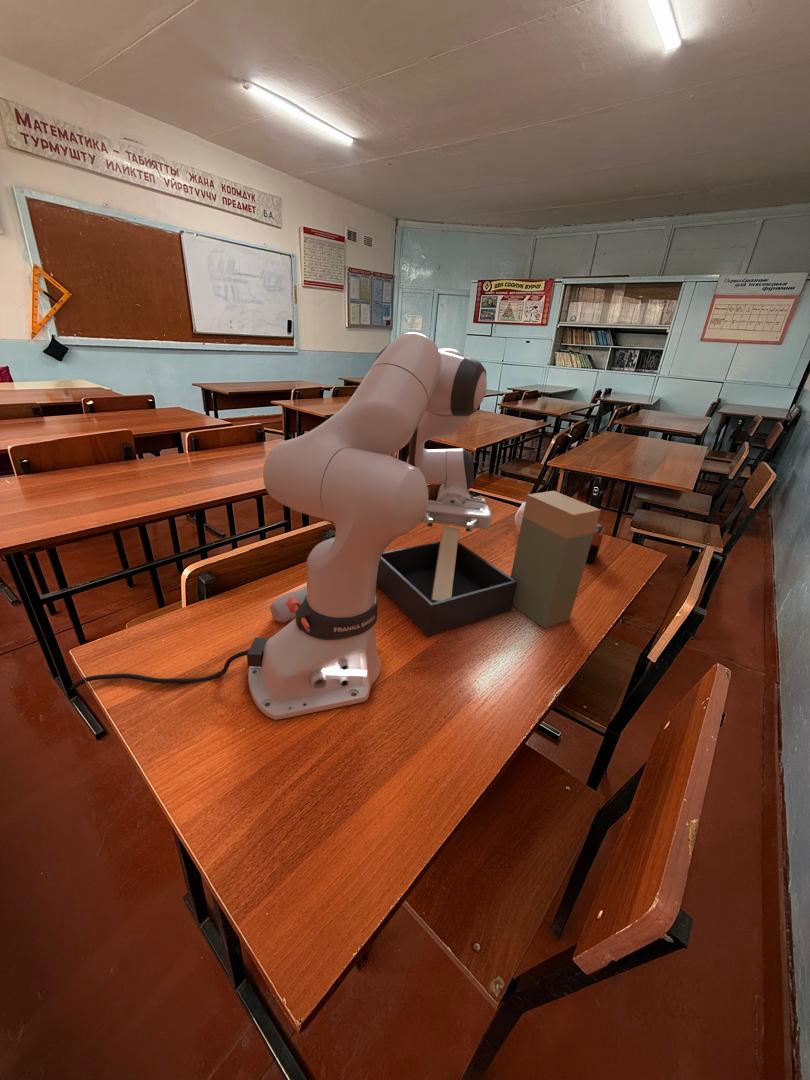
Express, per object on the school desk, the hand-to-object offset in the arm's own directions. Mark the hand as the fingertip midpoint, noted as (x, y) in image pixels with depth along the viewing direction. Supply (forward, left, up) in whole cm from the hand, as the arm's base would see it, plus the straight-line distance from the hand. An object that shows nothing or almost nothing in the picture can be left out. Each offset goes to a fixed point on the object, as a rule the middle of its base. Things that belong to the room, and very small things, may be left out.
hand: (449, 526), depth 103 cm
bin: (-6, -7, -14) cm, 17 cm away
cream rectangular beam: (-4, -5, -10) cm, 11 cm away
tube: (-31, +1, -14) cm, 34 cm away
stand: (+11, -21, -14) cm, 28 cm away
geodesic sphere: (+39, +7, -14) cm, 42 cm away
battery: (+45, -8, -14) cm, 48 cm away
